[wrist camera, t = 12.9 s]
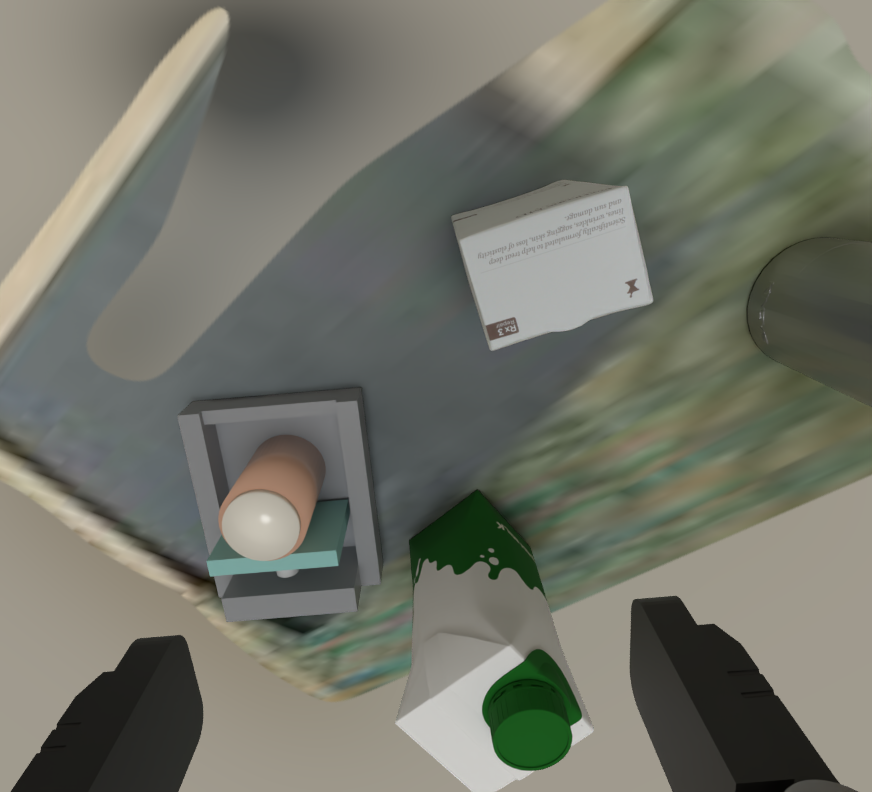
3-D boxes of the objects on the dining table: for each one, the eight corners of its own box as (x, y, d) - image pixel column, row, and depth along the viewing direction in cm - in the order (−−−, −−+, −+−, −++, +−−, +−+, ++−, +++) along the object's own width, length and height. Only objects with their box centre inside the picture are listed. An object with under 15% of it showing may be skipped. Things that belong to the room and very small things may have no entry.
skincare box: (563, 178, 41) (638, 171, 27) (584, 265, 43) (664, 302, 29) (443, 218, 41) (455, 232, 27) (469, 302, 43) (492, 356, 29)
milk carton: (545, 547, 50) (622, 767, 31) (459, 608, 52) (482, 852, 33) (478, 473, 48) (517, 661, 29) (391, 540, 49) (372, 758, 30)
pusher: (348, 499, 47) (336, 550, 40) (353, 535, 48) (342, 591, 41) (236, 508, 47) (206, 561, 40) (244, 544, 48) (216, 601, 41)
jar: (320, 431, 46) (297, 484, 37) (330, 498, 47) (311, 562, 39) (245, 437, 46) (207, 491, 37) (258, 504, 47) (224, 569, 39)
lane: (361, 387, 45) (352, 415, 39) (383, 561, 50) (378, 609, 44) (192, 401, 45) (159, 431, 39) (230, 574, 50) (206, 623, 44)
